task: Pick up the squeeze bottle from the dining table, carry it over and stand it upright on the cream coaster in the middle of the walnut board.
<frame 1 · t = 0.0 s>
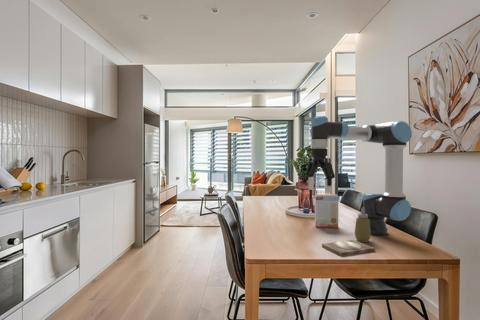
hand: (319, 191, 139), 28 cm above the table, tool pointing down, fingers open, 13 cm apart
walnut board: (347, 248, 138), on the table
cracker box: (326, 227, 182), on the table
squeeze bottle: (362, 241, 151), on the table
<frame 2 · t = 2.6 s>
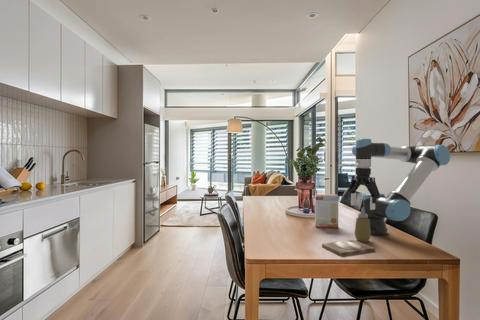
hand: (362, 207, 151), 18 cm above the table, tool pointing down, fingers open, 13 cm apart
nothing on the table moved.
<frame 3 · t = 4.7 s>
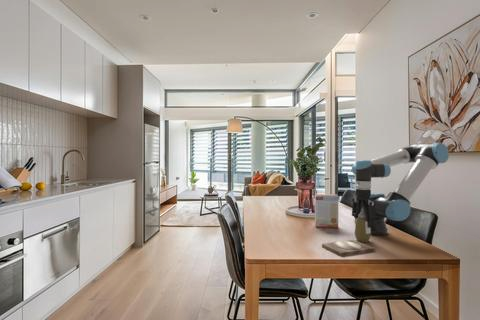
hand: (362, 231, 151), 5 cm above the table, tool pointing down, fingers closed on squeeze bottle, 6 cm apart
squeeze bottle: (362, 241, 151), on the table, touching gripper
everything else where it was.
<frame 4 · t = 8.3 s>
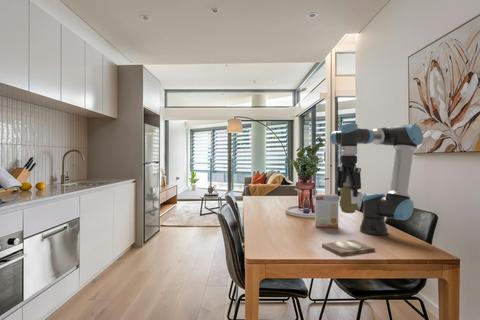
hand: (348, 202, 138), 23 cm above the table, tool pointing down, fingers closed on squeeze bottle, 6 cm apart
squeeze bottle: (348, 212, 138), point 18 cm above the table, touching gripper
everything else where it was.
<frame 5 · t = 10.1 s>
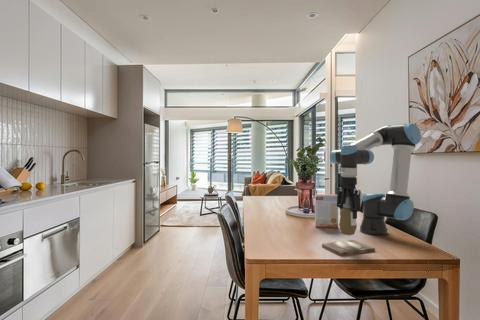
hand: (348, 223, 138), 12 cm above the table, tool pointing down, fingers closed on squeeze bottle, 6 cm apart
squeeze bottle: (347, 234, 138), point 7 cm above the table, touching gripper
everything else where it was.
when the fingers open (8 cm above the table, at t = 11.8 s): squeeze bottle drops 1 cm, resting on walnut board.
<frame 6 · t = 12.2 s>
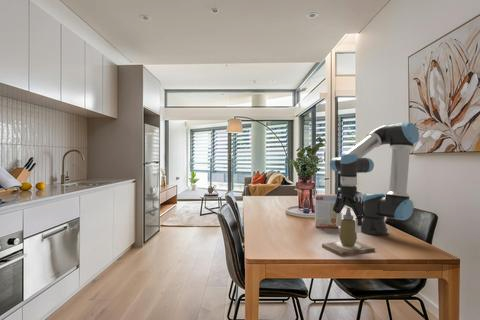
hand: (348, 229, 138), 10 cm above the table, tool pointing down, fingers open, 12 cm apart
squeeze bottle: (347, 245, 138), point 2 cm above the table, touching walnut board
everything else where it was.
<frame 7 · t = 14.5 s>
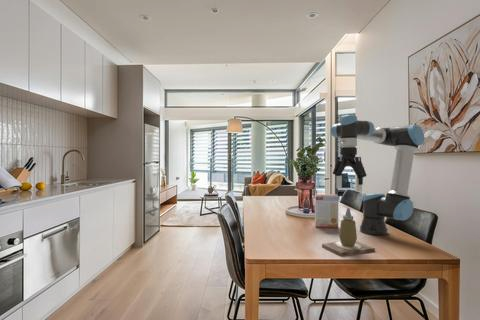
hand: (348, 190, 139), 29 cm above the table, tool pointing down, fingers open, 13 cm apart
nothing on the table moved.
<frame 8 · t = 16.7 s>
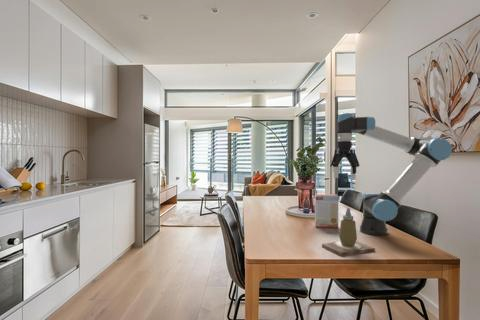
hand: (344, 178, 159), 33 cm above the table, tool pointing down, fingers open, 13 cm apart
nothing on the table moved.
at the end: squeeze bottle inside the target area on the walnut board (0.0 cm from its centre), point 1.7 cm above the walnut board's base; squeeze bottle tilted 0°; the gripper is holding nothing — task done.
